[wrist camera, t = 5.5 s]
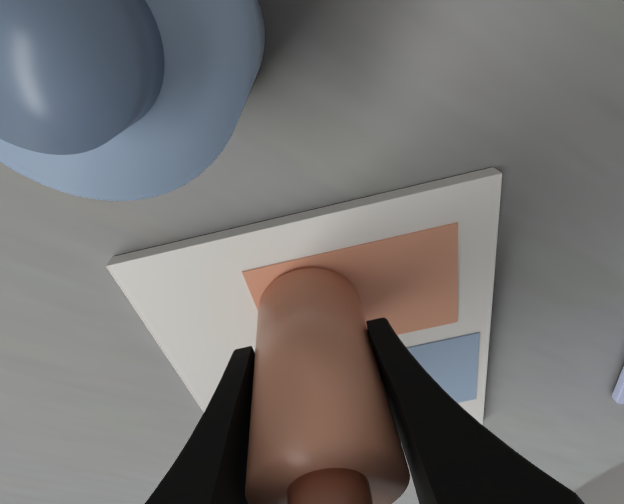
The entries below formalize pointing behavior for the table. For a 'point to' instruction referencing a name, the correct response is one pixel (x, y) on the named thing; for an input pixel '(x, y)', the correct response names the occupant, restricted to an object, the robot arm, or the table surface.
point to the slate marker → (123, 90)
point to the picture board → (346, 262)
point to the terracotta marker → (319, 400)
